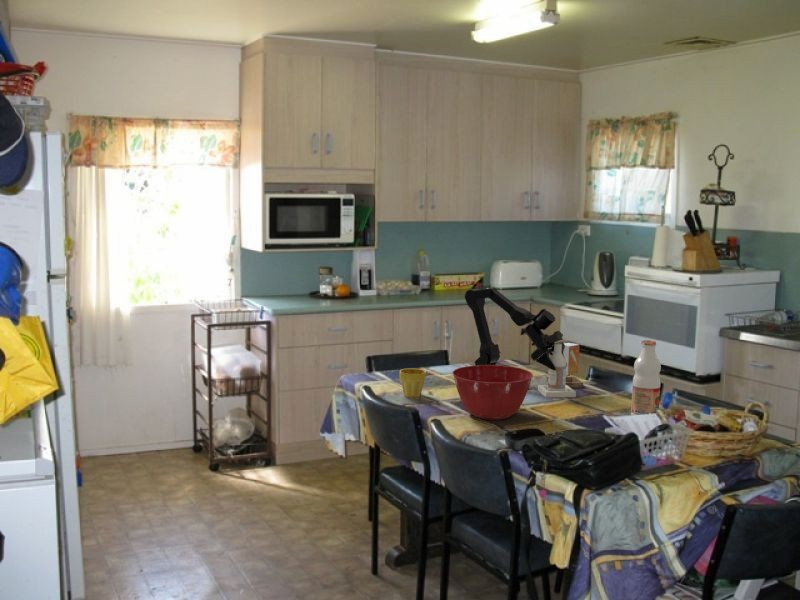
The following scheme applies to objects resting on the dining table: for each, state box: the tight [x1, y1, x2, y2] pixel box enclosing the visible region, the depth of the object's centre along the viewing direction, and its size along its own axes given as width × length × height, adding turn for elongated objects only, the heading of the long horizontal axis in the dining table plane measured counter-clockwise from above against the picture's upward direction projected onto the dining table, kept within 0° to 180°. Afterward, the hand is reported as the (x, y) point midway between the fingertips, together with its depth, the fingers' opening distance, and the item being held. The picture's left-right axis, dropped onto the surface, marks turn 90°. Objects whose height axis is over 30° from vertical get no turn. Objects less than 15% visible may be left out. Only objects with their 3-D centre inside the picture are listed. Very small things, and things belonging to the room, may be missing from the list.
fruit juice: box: [630, 339, 662, 416], centre depth 294 cm, size 9×9×28 cm
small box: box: [563, 342, 580, 376], centre depth 369 cm, size 8×6×13 cm
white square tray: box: [537, 384, 577, 398], centre depth 331 cm, size 12×12×2 cm
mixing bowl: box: [452, 364, 534, 421], centre depth 296 cm, size 28×28×15 cm
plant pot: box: [399, 367, 427, 399], centre depth 323 cm, size 10×10×10 cm
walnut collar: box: [546, 375, 584, 389], centre depth 347 cm, size 12×12×2 cm
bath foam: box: [547, 342, 567, 391], centre depth 330 cm, size 7×7×20 cm
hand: (560, 368), depth 329 cm, fingers open, 9 cm apart
